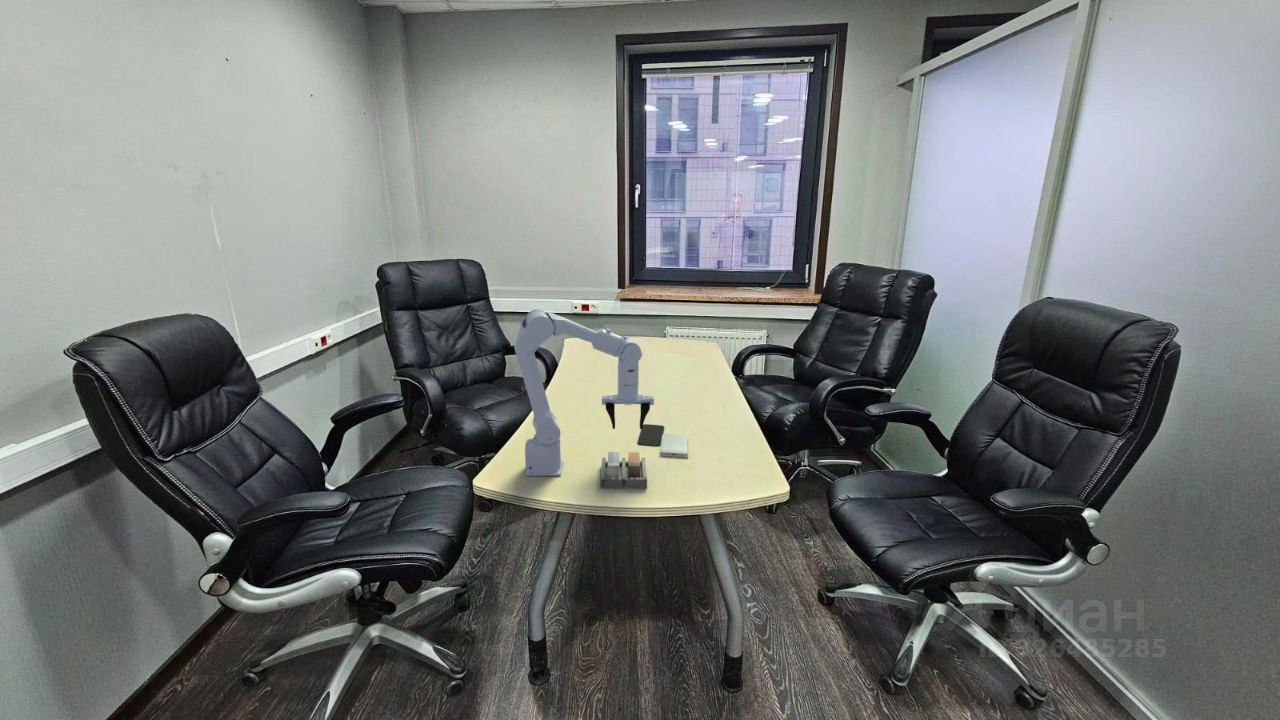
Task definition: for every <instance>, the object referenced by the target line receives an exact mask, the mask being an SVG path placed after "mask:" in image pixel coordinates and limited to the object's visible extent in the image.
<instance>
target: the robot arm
mask: <svg viewBox="0 0 1280 720" xmlns="http://www.w3.org/2000/svg"><path fill="white" fill-rule="evenodd" d="M561 335H568V336H571V337H574V338H577V339H580V340H583V341H585V342H588V343H591V346H592V347H593V349H594V350H595V351H599V352H602V353H604V354H606V355H609V356H611V357H612V356H613V357H615V358H616V357H617V358H618V359H617V361H618V363H617V364H618V365H617V394H610V395H601V406H605V410H606V412H607V414H608V416H609V419H610V422H611V426H612V429H613V430H615V429H616V416H615V415H616V413H615V408H616V407H615V406H616V405H624V406H631V405H640V414H639V415H640V416H639V429H640V430H641V429H642V427H643V425H644V423H645V420H646V417H647V415H648V413H650V410H651V406H654V405H655V396H654V395H642V394H639V371H640V370H639V368H640V367H639V362H640V360H641V359H642V356H643V352H642V349H641V347H640V346H639V345H638V343H636V342H635V341H634V340H632V339H631V338H630V337H628V336H625V335H622V336H621V335H618V334H616V333H613V332H612V330H611V329H609V328H605V329H603V328H600V329H597V330H593V329H591V328H589V327H586V326H584V325H582V324H580V323H578V322H575V321H573V320H570V319H568V318H566V317H564V316H561V315H558V314H556V313H552V312H549V311H548V312H546V311H544V310H542V309H537V308H536V309H533V310H530V311H529V312H528V313H526V315H525V316H524V318H523V319H522V320H521V323H520V328H519V331H518V333H517V336H516V340H515V343H514V346H513V347H514V351H515V355H516V358H517V362H518V365H519V370H520V372H521V376H522V378H523V382H524V386H525V388H526V393H527V395H528V399H529V402H530V405H531V406H530V407H531V410H532V413H533V420H532V425H533V427H534V431H535V434H534V436H533V437H532V438H527V439H526V441H525V447H524V457H525V458H524V459H525V461H524V463H525V476H526V477H532V476H533V477H537V476H539V477H540V476H542V477H543V476H544V477H545V476H550V477H551V476H554V477H555V476H557V477H559V476H561V475H562V471H563V467H564V460H561V429H560V427H559V426H558V423H557V418H556V416H555V415H554V413H553V412H552V411H551V408H550V404H549V401H548V397H547V394H546V390H545V387H544V383H543V380H542V375H541V372H540V369H539V366H538V365H539V364H538V362H537V358H536V355H535V352H536V351H537V350H538V348H539V347H540V346H541V345H543V343H545V342H546V341H547V340H549V339H550V338H551V337H553V336H554V338H557V337H559V336H561Z"/></svg>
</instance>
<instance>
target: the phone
mask: <svg viewBox="0 0 1280 720" xmlns="http://www.w3.org/2000/svg"><path fill="white" fill-rule="evenodd" d="M664 432H665V425H661V424H649V423H647V424H646V423H645V424H644V423H643V427H642V429H640V432H639V436H638V440H637V442H636V443H637V445H638V446H646V447H649V446H650V447H661V441H662V435H663V434H665V433H664Z"/></svg>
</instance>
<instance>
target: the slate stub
mask: <svg viewBox="0 0 1280 720" xmlns="http://www.w3.org/2000/svg"><path fill="white" fill-rule="evenodd" d="M607 461H608V467H607V478H619V461H620V451H608V455H607Z"/></svg>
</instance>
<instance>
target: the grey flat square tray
mask: <svg viewBox="0 0 1280 720" xmlns="http://www.w3.org/2000/svg"><path fill="white" fill-rule="evenodd" d="M626 459H627V458H626V457H621V460H619V478H607V467H608V460H607V457H602V458H601V471H600V472H601V473H600V489H647V488H648V475H647V474H648V473H647V464H646V463H647V462H646V457H641V458H640V459H641V460H640V478H628V460H626Z"/></svg>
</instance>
